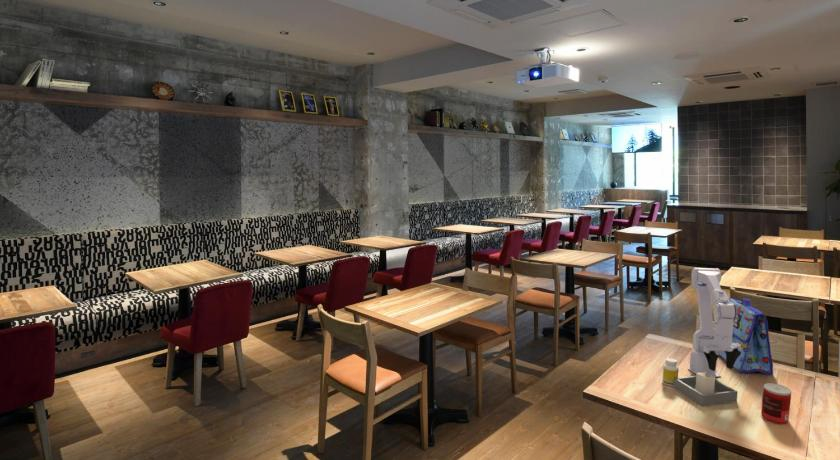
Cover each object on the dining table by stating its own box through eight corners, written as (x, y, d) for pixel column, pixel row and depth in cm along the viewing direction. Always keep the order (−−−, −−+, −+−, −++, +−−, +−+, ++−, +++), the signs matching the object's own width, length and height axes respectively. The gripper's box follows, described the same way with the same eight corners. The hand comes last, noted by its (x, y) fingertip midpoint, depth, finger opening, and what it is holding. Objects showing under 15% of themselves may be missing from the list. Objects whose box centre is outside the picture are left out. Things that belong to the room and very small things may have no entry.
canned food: (783, 414, 168) (786, 384, 167) (792, 426, 161) (795, 395, 159) (757, 411, 171) (760, 381, 169) (765, 422, 163) (768, 392, 162)
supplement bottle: (679, 387, 189) (680, 363, 188) (664, 386, 190) (665, 362, 189) (675, 380, 195) (676, 357, 193) (660, 379, 196) (661, 356, 194)
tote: (673, 387, 189) (674, 378, 188) (705, 383, 192) (706, 374, 191) (702, 406, 175) (703, 395, 174) (736, 401, 177) (737, 391, 177)
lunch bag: (715, 353, 221) (719, 292, 217) (747, 354, 219) (752, 292, 215) (739, 374, 200) (744, 306, 196) (775, 375, 198) (781, 307, 194)
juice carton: (695, 390, 185) (696, 371, 184) (704, 389, 186) (705, 370, 184) (704, 396, 180) (705, 376, 179) (713, 394, 181) (715, 375, 180)
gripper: (714, 340, 176) (712, 375, 178) (748, 336, 179) (746, 371, 181) (700, 333, 183) (697, 367, 185) (733, 330, 186) (730, 363, 188)
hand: (720, 368), depth 184 cm, fingers open, 7 cm apart
